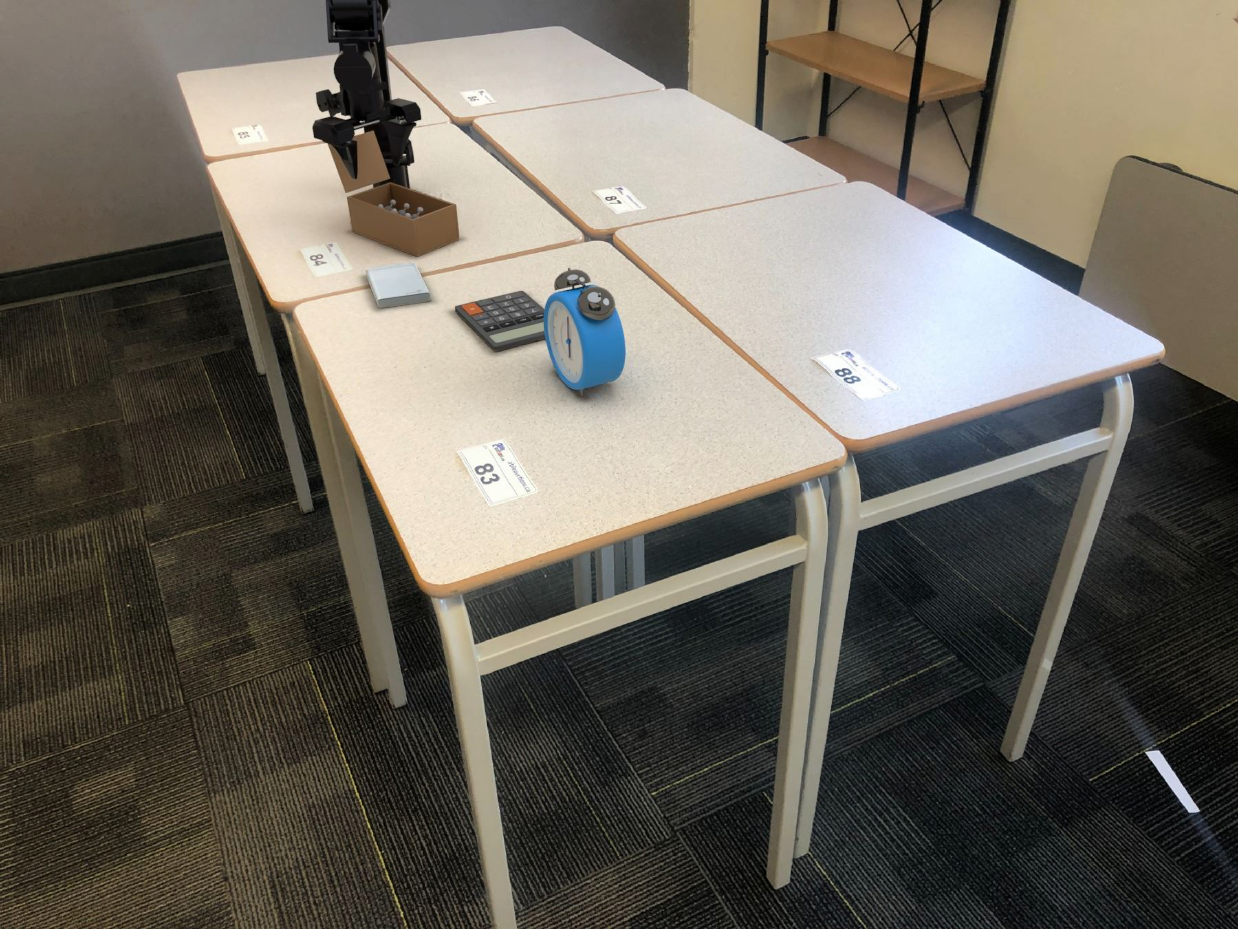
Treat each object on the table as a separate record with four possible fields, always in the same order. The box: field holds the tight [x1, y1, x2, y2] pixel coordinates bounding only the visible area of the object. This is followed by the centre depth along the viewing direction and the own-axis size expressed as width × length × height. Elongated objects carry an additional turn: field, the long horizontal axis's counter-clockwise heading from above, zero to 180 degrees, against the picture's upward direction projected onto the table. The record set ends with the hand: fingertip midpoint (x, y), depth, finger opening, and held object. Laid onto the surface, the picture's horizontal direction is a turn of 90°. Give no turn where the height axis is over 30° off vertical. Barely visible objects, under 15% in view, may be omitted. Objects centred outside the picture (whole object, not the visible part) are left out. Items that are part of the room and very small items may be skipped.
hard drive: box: [365, 262, 432, 309], centre depth 152 cm, size 2×8×12 cm
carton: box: [346, 182, 461, 258], centre depth 169 cm, size 18×10×6 cm, turn 51°
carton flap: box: [327, 131, 390, 194], centre depth 169 cm, size 9×10×1 cm
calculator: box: [454, 290, 546, 352], centre depth 143 cm, size 12×1×15 cm
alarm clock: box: [544, 267, 627, 397], centre depth 125 cm, size 13×6×15 cm, turn 29°
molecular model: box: [378, 200, 423, 219], centre depth 169 cm, size 14×4×5 cm, turn 49°
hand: (375, 171), depth 162 cm, fingers open, 9 cm apart
